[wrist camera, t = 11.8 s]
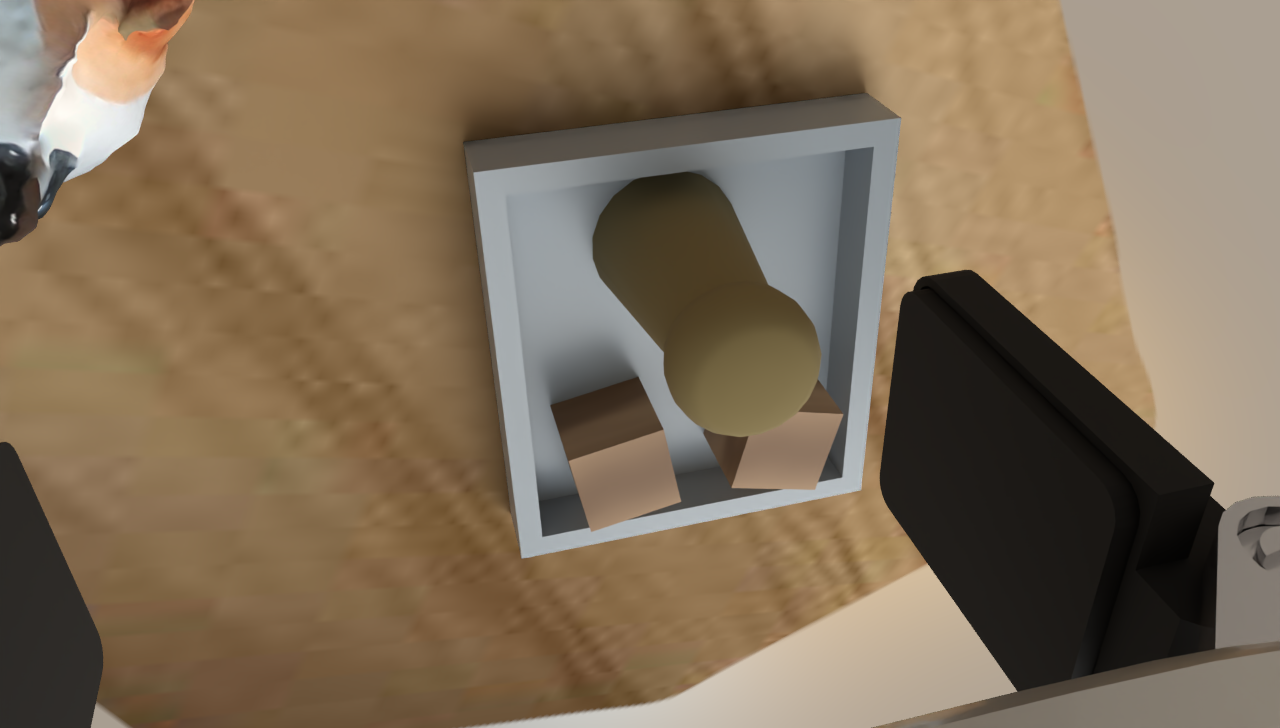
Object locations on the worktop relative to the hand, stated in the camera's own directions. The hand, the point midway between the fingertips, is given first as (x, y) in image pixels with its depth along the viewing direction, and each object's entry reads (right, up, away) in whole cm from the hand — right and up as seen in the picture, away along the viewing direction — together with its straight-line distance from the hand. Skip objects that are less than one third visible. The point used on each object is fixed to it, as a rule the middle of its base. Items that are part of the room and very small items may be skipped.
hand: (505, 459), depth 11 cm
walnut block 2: (+7, -1, +36) cm, 37 cm away
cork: (+2, +6, +31) cm, 32 cm away
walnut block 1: (0, -2, +35) cm, 35 cm away
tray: (+3, +3, +34) cm, 34 cm away
